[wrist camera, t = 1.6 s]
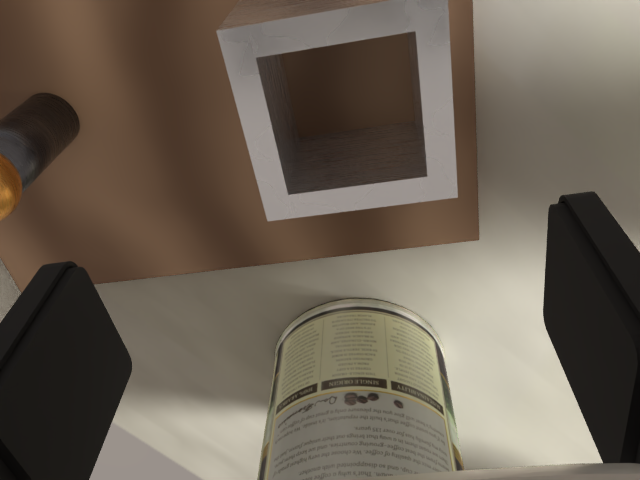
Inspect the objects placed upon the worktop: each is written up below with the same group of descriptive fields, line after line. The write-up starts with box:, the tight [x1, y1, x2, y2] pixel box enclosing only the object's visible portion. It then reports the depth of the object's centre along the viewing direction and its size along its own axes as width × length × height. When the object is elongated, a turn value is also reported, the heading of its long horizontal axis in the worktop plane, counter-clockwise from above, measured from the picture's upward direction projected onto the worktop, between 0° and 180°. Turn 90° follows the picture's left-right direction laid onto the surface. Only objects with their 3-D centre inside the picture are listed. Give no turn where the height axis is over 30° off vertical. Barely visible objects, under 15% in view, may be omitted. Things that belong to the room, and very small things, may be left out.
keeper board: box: [0, 0, 479, 293], centre depth 25 cm, size 24×18×2 cm
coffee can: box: [257, 299, 464, 480], centre depth 29 cm, size 10×10×14 cm
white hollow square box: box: [216, 0, 458, 221], centre depth 21 cm, size 7×7×5 cm
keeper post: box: [0, 93, 80, 221], centre depth 22 cm, size 3×3×7 cm
